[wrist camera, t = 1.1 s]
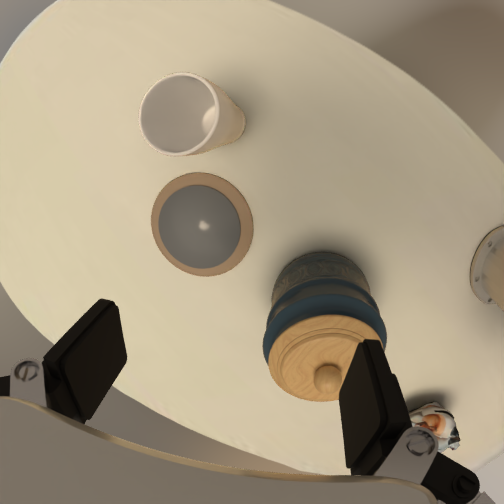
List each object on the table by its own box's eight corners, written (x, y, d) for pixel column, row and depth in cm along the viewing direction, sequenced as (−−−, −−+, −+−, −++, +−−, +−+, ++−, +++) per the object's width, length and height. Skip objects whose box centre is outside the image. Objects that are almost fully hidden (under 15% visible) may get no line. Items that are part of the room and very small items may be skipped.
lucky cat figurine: (371, 428, 48) (387, 460, 35) (409, 382, 49) (436, 403, 35) (417, 455, 45) (438, 485, 32) (452, 412, 45) (482, 435, 32)
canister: (325, 228, 36) (343, 300, 20) (384, 295, 38) (423, 385, 22) (253, 291, 41) (224, 383, 25) (315, 347, 43) (316, 443, 27)
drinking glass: (194, 102, 33) (132, 84, 19) (248, 92, 32) (214, 61, 18) (202, 154, 35) (143, 165, 21) (256, 146, 34) (226, 149, 20)
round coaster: (228, 156, 35) (226, 156, 34) (268, 258, 39) (267, 262, 38) (137, 196, 39) (133, 198, 37) (177, 285, 43) (174, 289, 41)
